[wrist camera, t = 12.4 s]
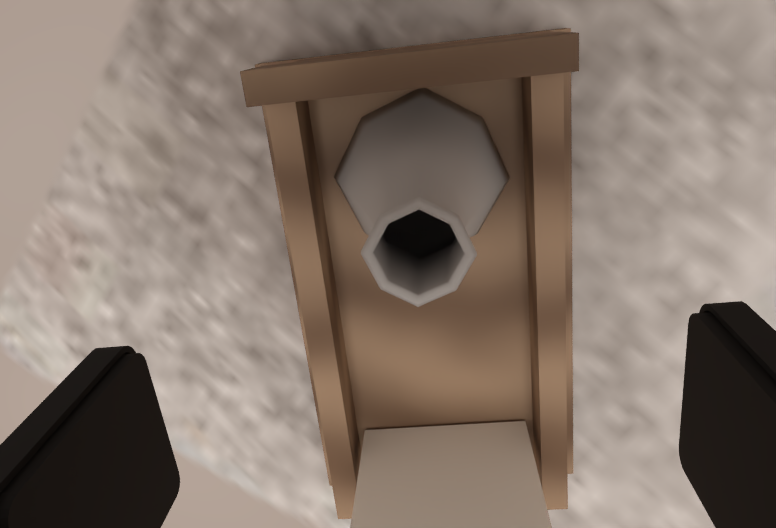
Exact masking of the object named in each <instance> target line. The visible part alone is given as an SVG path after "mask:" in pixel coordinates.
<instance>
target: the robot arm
mask: <svg viewBox="0 0 776 528" xmlns="http://www.w3.org/2000/svg"><path fill="white" fill-rule="evenodd" d="M679 456H680V461H681V464H682V467H683V470H684V472H685V474H686V475H687V477H688V479H689V481H690V483H691V484H692V486H693V488H694V490H695V492H696V493H697V495H698V497H699V499H700V501H701V502H702V504H703V506H704V508H705V509H706V511H707V513H708V515H709V517H710V518H711V520H712V522H713V524H714V526H715V527H716V528H776V331H775V330H774V329H773V328H772V327H771V326H770V325H769V324H767V323H766V322H765V321H764V320H763V319H762V318H761V317H760V316H759V315H758V314H757V313H756V312H754V311H753V310H752V309H751V308H750V307H749V306H748V305H747V304H746V303H744V302H742V301H741V302H726V303H713V304H704V305H703V306H702V307H701V309H700V312H699V313H695V314H692V315H691V316H690V318H689V323H688V335H687V348H686V361H685V374H684V387H683V400H682V413H681V426H680V439H679ZM179 486H180V477H179V471H178V468H177V464H176V461H175V458H174V454H173V451H172V447H171V444H170V441H169V437H168V434H167V430H166V427H165V424H164V420H163V417H162V413H161V410H160V407H159V403H158V400H157V396H156V393H155V390H154V386H153V383H152V380H151V376H150V373H149V369H148V366H147V363H146V360H145V357H144V356H143V355H142V354H140V353H136V352H135V351H134V349H133V348H132V347H130V346H120V347H106V348H96V349H94V350H93V351H92V352H91V353H90V354H89V355H88V356H87V357H86V358H85V359H84V360H83V361H82V362H81V363H80V364H79V365H78V366H77V367H76V368H75V369H74V370H73V371H72V372H71V373H70V374H69V375H68V376H67V377H66V378H65V379H64V380H63V381H62V382H61V383H60V384H59V385H58V386H57V388H56V389H55V390H54V391H53V392H52V393H51V394H50V395H49V396H48V397H47V398H46V399H45V400H44V401H43V402H42V403H41V404H40V405H39V406H38V407H37V408H36V409H35V410H34V411H33V412H32V413H31V414H30V415H29V416H28V417H27V418H26V419H25V420H24V421H23V422H22V423H21V424H20V425H19V427H17V429H15V430H14V432H13V433H12V434H11V435H10V436H9V437H8V438H7V439H6V440H5V441H4V442H3V443H2V444H1V445H0V528H161V526H162V524H163V522H164V520H165V518H166V516H167V514H168V512H169V510H170V508H171V506H172V505H173V502H174V500H175V498H176V497H177V494H178V491H179Z"/></svg>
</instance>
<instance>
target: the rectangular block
mask: <svg viewBox="0 0 776 528" xmlns="http://www.w3.org/2000/svg"><path fill="white" fill-rule="evenodd" d="M350 528H552V527H551V523H550V519H549V515H548V511H547V507H546V502H545V498H544V494H543V490H542V486H541V482H540V478H539V474H538V470H537V466H536V462H535V458H534V454H533V450H532V446H531V442H530V438H529V434H528V430H527V426H526V422H525V421H515V422H497V423H480V424H463V425H446V426H428V427H411V428H394V429H377V430H365V433H364V439H363V446H362V453H361V459H360V466H359V473H358V479H357V486H356V492H355V499H354V506H353V512H352V519H351V526H350Z"/></svg>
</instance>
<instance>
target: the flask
mask: <svg viewBox="0 0 776 528" xmlns="http://www.w3.org/2000/svg"><path fill="white" fill-rule="evenodd" d="M334 178H335V180H336V182H337V184H338V185H339V187H340V189H341V191H342V193H343V195H344V196H345V198H346V200H347V202H348V204H349V206H350V207H351V209H352V211H353V213H354V215H355V217H356V218H357V220H358V222H359V224H360V226H361V228H362V229H363V231H364V233H366V234H367V235H369V236H368V238H367V240H366V242H365V244H364V246H363V248H362V250H361V255H362V257H363V259H364V260H365V262H366V264H367V266H368V268H369V269H370V271H371V273H372V275H373V277H374V278H375V280H376V282H377V284H378V286H379V288H380V289H381V290H383V291H385V292H387V293H389V294H392V295H394V296H396V297H398V298H400V299H402V300H404V301H406V302H409V303H411V304H413V305H415V306H417V307H419V306H421V305H424V304H426V303H428V302H431V301H433V300H435V299H438V298H440V297H442V296H444V295H447V294H449V293H451V292H454V291H456V290H457V288H458V286H459V285H460V283H461V281H462V280H463V278H464V276H465V275H466V273H467V271H468V269H469V268H470V266H471V264H472V263H473V261H474V259H475V258H476V256H477V252H476V250H475V248H474V246H473V244H472V241H471V239H470V237H472V236H475V235H476V234H478V232H479V230H480V229H481V227H482V225H483V223H484V222H485V220H486V218H487V216H488V215H489V213H490V211H491V210H492V208H493V206H494V204H495V203H496V201H497V199H498V197H499V196H500V194H501V192H502V191H503V189H504V187H505V185H506V184H507V182H508V180H509V179H510V177H509V174H508V172H507V170H506V168H505V166H504V163H503V161H502V159H501V157H500V154H499V152H498V150H497V148H496V145H495V143H494V141H493V139H492V137H491V134H490V132H489V130H488V128H487V125H486V123H485V121H484V119H483V117H481V116H479V115H477V114H475V113H473V112H471V111H469V110H467V109H465V108H463V107H462V106H460V105H458V104H456V103H454V102H452V101H450V100H448V99H446V98H444V97H442V96H440V95H438V94H436V93H434V92H433V91H431V90H429V89H427V88H418V89H416V90H414V91H412V92H410V93H408V94H406V95H404V96H402V97H400V98H398V99H396V100H394V101H393V102H391V103H389V104H387V105H385V106H383V107H381V108H379V109H377V110H375V111H373V112H371V113H369V114H367V115H365V116H364V117H362V118H361V120H360V122H359V124H358V126H357V128H356V130H355V132H354V135H353V137H352V139H351V141H350V143H349V145H348V147H347V150H346V152H345V154H344V156H343V158H342V160H341V162H340V165H339V167H338V169H337V171H336V173H335V175H334Z"/></svg>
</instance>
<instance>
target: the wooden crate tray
mask: <svg viewBox="0 0 776 528" xmlns="http://www.w3.org/2000/svg"><path fill="white" fill-rule="evenodd" d="M575 71H579V33H573V32H571V28H563V29H555V30H546V31H537V32H529V33H520V34H511V35H503V36H494V37H485V38H476V39H468V40H459V41H450V42H442V43H433V44H424V45H416V46H407V47H398V48H390V49H381V50H372V51H363V52H355V53H346V54H337V55H329V56H320V57H311V58H303V59H294V60H285V61H277V62H268V63H260V64H256V65H255V68H252V69H248V70H244V71H240V74H241V79H242V85H243V90H244V95H245V101H246V106H247V107H252V106H262V108H263V114H264V120H265V125H266V131H267V136H268V142H269V148H270V153H271V159H272V164H273V170H274V176H275V181H276V187H277V192H278V198H279V204H280V209H281V215H282V221H283V226H284V232H285V237H286V243H287V249H288V254H289V260H290V265H291V271H292V277H293V282H294V288H295V293H296V299H297V305H298V310H299V316H300V321H301V327H302V333H303V338H304V344H305V349H306V355H307V361H308V366H309V372H310V378H311V383H312V389H313V394H314V400H315V406H316V411H317V417H318V422H319V428H320V434H321V439H322V445H323V450H324V456H325V462H326V467H327V473H328V478H329V484H330V486H331V485H332V487H333V492H334V498H335V504H336V509H337V515H338V519H350V518H352V512H353V506H354V499H355V492H356V486H357V479H358V473H359V466H360V459H361V453H362V446H363V439H364V433H365V430H377V429H394V428H411V427H428V426H446V425H463V424H480V423H497V422H515V421H525V422H526V426H527V430H528V434H529V438H530V442H531V446H532V450H533V454H534V458H535V462H536V466H537V470H538V474H539V478H540V482H541V486H542V490H543V494H544V498H545V502H546V507H547V510H551V509H568V492H567V474H572V473H573V362H572V182H571V72H575ZM418 88H427V89H429V90H431V91H433V92H434V93H436V94H438V95H440V96H442V97H444V98H446V99H448V100H450V101H452V102H454V103H456V104H458V105H460V106H462V107H463V108H465V109H467V110H469V111H471V112H473V113H475V114H477V115H479V116H481V117H483V119H484V121H485V123H486V125H487V128H488V130H489V132H490V134H491V137H492V139H493V141H494V143H495V145H496V148H497V150H498V152H499V154H500V157H501V159H502V161H503V163H504V166H505V168H506V170H507V172H508V174H509V177H510V179H509V180H508V182H507V184H506V185H505V187H504V189H503V191H502V192H501V194H500V196H499V197H498V199H497V201H496V203H495V204H494V206H493V208H492V210H491V211H490V213H489V215H488V216H487V218H486V220H485V222H484V223H483V225H482V227H481V229H480V230H479V232H478V234H476V235H475V236H472V237H470V239H471V241H472V244H473V246H474V248H475V250H476V252H477V256H476V258H475V259H474V261H473V263H472V264H471V266H470V268H469V269H468V271H467V273H466V275H465V276H464V278H463V280H462V281H461V283H460V285H459V286H458V288H457V290H456V291H454V292H451V293H449V294H447V295H444V296H442V297H440V298H438V299H435V300H433V301H431V302H428V303H426V304H424V305H421V306H419V307H417V306H415V305H413V304H411V303H409V302H406V301H404V300H402V299H400V298H398V297H396V296H394V295H392V294H389V293H387V292H385V291H383V290H381V289H380V288H379V286H378V284H377V282H376V280H375V278H374V277H373V275H372V273H371V271H370V269H369V268H368V266H367V264H366V262H365V260H364V259H363V257H362V255H361V250H362V248H363V246H364V244H365V242H366V240H367V238H368V236H369V235H367V234H366V233H364V231H363V229H362V228H361V226H360V224H359V222H358V220H357V218H356V217H355V215H354V213H353V211H352V209H351V207H350V206H349V204H348V202H347V200H346V198H345V196H344V195H343V193H342V191H341V189H340V187H339V185H338V184H337V182H336V180H335V178H334V175H335V173H336V171H337V169H338V167H339V165H340V162H341V160H342V158H343V156H344V154H345V152H346V150H347V147H348V145H349V143H350V141H351V139H352V137H353V135H354V132H355V130H356V128H357V126H358V124H359V122H360V120H361V118H362V117H364V116H365V115H367V114H369V113H371V112H373V111H375V110H377V109H379V108H381V107H383V106H385V105H387V104H389V103H391V102H393V101H394V100H396V99H398V98H400V97H402V96H404V95H406V94H408V93H410V92H412V91H414V90H416V89H418Z"/></svg>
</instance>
